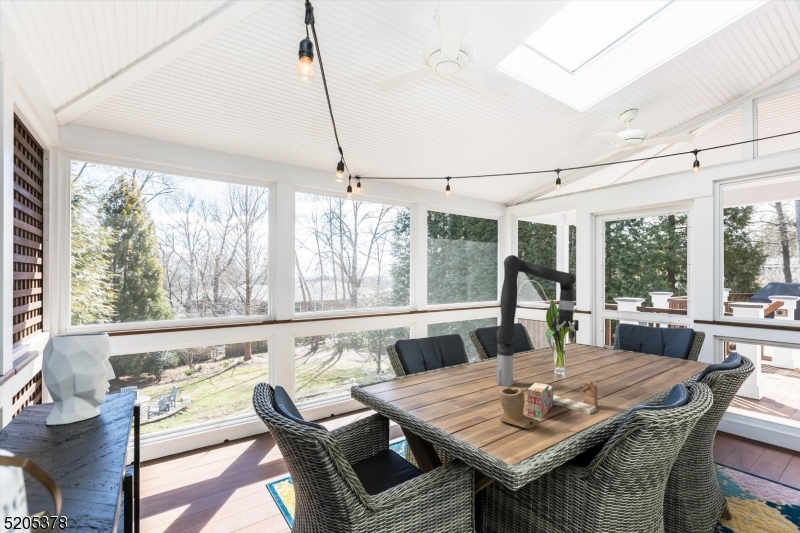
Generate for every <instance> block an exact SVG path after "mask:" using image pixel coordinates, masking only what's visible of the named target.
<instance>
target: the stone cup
mask: <svg viewBox="0 0 800 533" xmlns="http://www.w3.org/2000/svg"><path fill="white" fill-rule="evenodd" d="M498 398H499V402H500V405H501V407H502V409H503V414H501V415H499V420H500V421H502V422H504V423H506V424H509V425H513V426H516V427H520V428H523V429H529V430H530V429H532V428H535V427H536V426H538V425H539V423H540V421H539V419H535V418H533V417H531V416H528V415H525V413H524V407H525V394H524V391H523V390H522V389H521V388H519V387H510V386H507V387H505V388H501V389H500V390H499V393H498Z"/></svg>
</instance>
